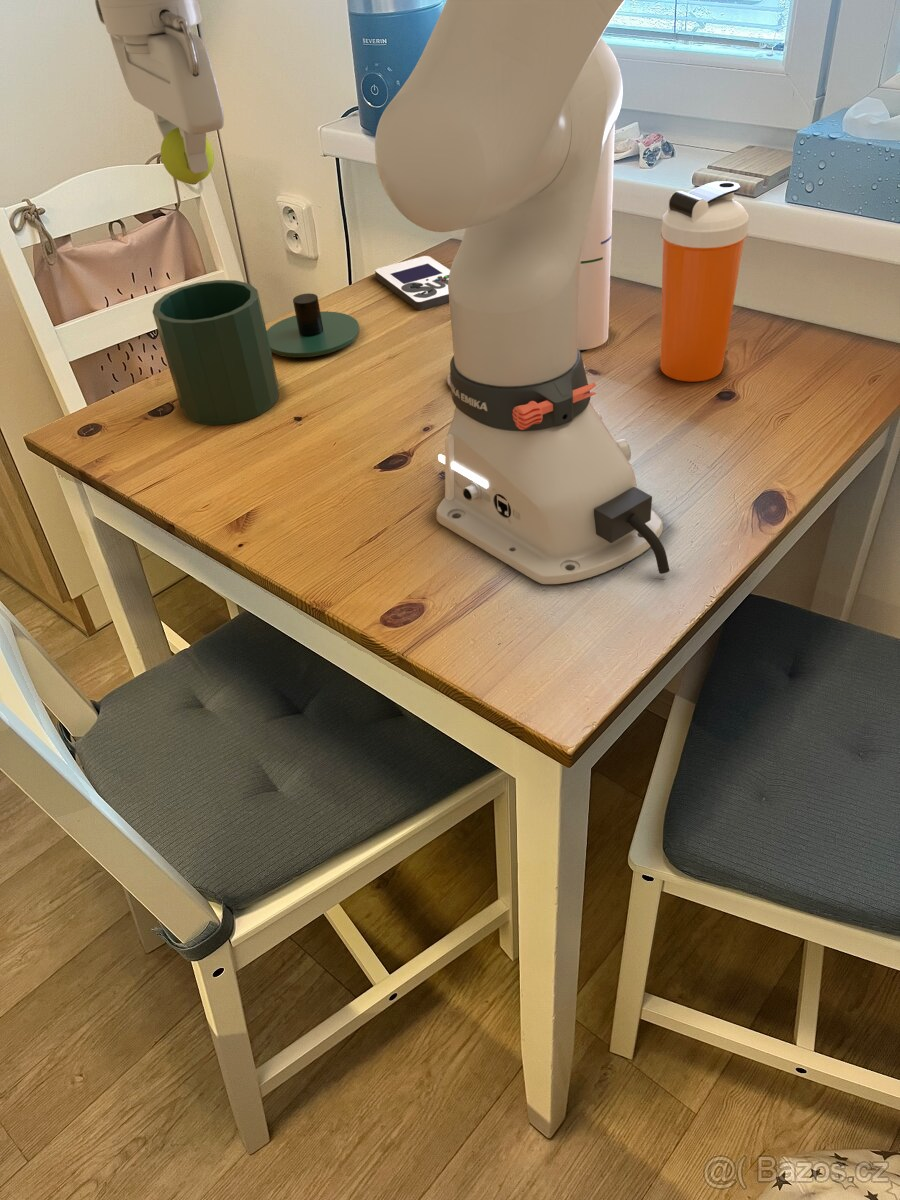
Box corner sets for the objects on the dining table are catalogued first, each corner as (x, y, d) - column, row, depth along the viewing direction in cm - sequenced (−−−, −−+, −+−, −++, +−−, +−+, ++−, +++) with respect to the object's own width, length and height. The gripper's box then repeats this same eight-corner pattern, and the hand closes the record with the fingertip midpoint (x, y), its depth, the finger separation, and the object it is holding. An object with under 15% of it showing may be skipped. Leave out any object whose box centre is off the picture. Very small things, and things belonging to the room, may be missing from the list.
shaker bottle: (747, 367, 108) (771, 187, 96) (694, 394, 105) (712, 210, 92) (688, 344, 114) (703, 171, 101) (636, 368, 110) (645, 192, 98)
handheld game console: (428, 262, 141) (427, 253, 140) (475, 294, 131) (474, 285, 130) (374, 277, 139) (373, 268, 138) (418, 311, 128) (417, 301, 127)
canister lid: (376, 342, 122) (370, 300, 118) (287, 371, 117) (278, 328, 114) (335, 311, 130) (328, 271, 127) (251, 337, 126) (241, 296, 122)
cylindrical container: (619, 333, 118) (628, 116, 102) (586, 354, 114) (590, 133, 98) (573, 320, 122) (574, 109, 106) (539, 341, 118) (535, 125, 102)
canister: (294, 404, 111) (272, 302, 102) (201, 435, 107) (171, 332, 98) (258, 369, 118) (235, 271, 110) (170, 397, 114) (140, 298, 106)
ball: (226, 182, 96) (214, 126, 92) (177, 193, 94) (163, 137, 91) (209, 171, 99) (197, 117, 96) (162, 182, 98) (148, 127, 94)
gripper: (220, 11, 81) (254, 180, 90) (151, -10, 94) (187, 138, 103) (149, 24, 78) (191, 195, 87) (89, 0, 92) (131, 150, 101)
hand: (188, 164), depth 96 cm, fingers closed on ball, 5 cm apart
